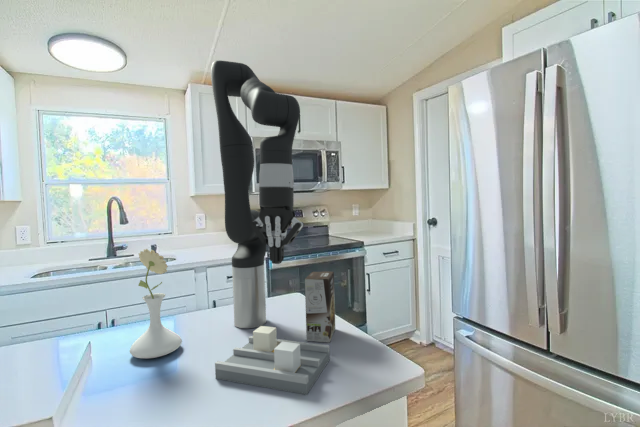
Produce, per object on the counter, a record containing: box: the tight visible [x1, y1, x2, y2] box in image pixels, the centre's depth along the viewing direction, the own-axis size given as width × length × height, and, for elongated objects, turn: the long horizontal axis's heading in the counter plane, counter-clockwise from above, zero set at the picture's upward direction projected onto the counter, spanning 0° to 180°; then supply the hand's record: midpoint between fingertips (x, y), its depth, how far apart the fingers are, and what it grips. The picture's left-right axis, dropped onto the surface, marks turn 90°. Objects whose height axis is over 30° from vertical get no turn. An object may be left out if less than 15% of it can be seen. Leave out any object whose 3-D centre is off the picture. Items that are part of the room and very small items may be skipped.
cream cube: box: [252, 325, 278, 352], centre depth 76 cm, size 4×4×4 cm
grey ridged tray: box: [214, 335, 331, 396], centre depth 72 cm, size 20×14×3 cm
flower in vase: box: [129, 248, 183, 359], centre depth 81 cm, size 13×11×25 cm
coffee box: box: [304, 271, 336, 343], centre depth 88 cm, size 9×6×16 cm
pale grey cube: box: [274, 342, 301, 373], centre depth 67 cm, size 4×4×4 cm
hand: (277, 263), depth 75 cm, fingers closed
